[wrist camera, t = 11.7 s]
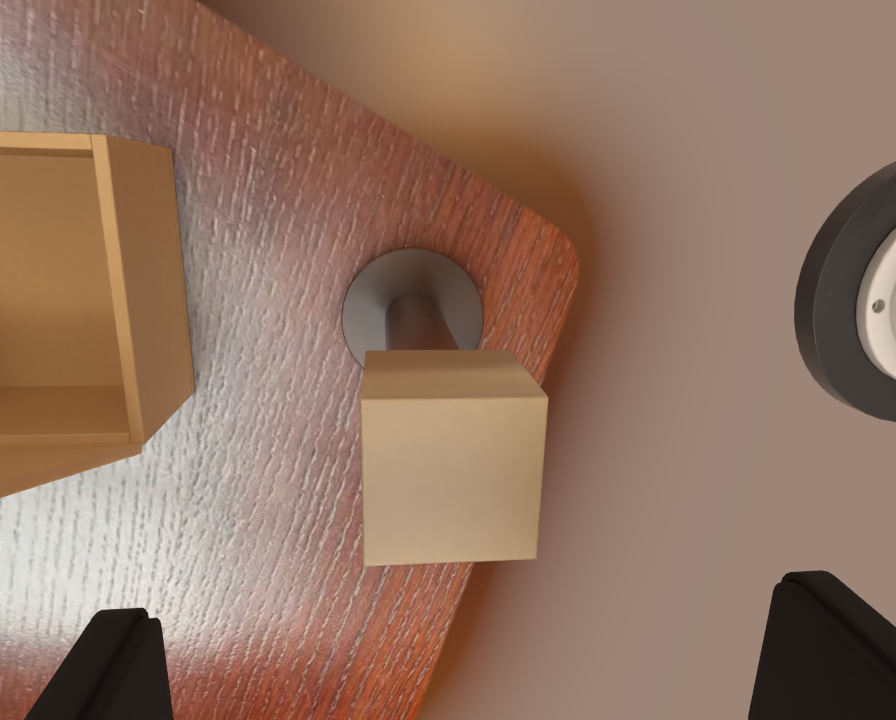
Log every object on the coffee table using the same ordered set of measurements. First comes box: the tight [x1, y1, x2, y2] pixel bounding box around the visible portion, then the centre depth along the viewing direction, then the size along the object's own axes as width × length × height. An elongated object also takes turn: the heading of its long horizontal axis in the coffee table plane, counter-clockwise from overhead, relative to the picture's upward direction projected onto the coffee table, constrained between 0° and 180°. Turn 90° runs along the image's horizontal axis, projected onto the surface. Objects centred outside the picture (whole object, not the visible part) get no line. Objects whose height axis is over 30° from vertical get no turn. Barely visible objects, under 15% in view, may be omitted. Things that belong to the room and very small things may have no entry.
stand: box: [341, 247, 483, 369], centre depth 26 cm, size 8×8×16 cm
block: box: [360, 350, 548, 566], centre depth 17 cm, size 4×4×4 cm
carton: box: [0, 131, 195, 445], centre depth 28 cm, size 13×11×8 cm
